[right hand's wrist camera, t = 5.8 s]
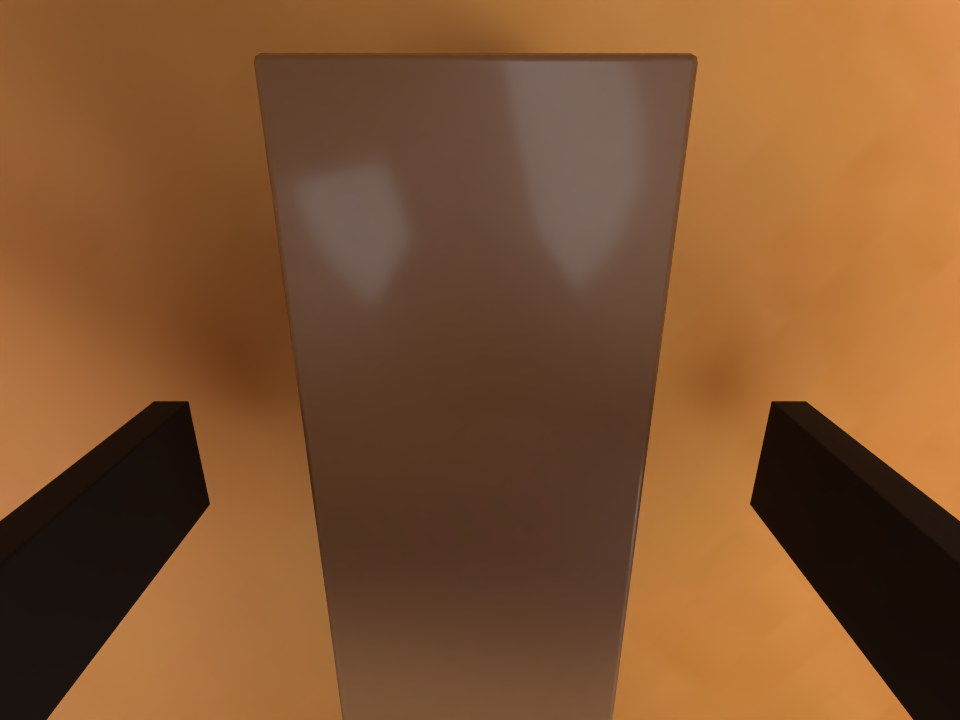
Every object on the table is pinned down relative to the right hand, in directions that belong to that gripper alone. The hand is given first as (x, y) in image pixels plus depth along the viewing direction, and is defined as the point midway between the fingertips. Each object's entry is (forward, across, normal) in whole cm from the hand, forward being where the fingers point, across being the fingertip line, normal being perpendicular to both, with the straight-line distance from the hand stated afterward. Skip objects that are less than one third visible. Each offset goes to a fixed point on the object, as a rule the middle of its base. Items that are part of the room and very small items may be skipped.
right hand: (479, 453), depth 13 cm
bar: (+4, 0, -19) cm, 19 cm away
